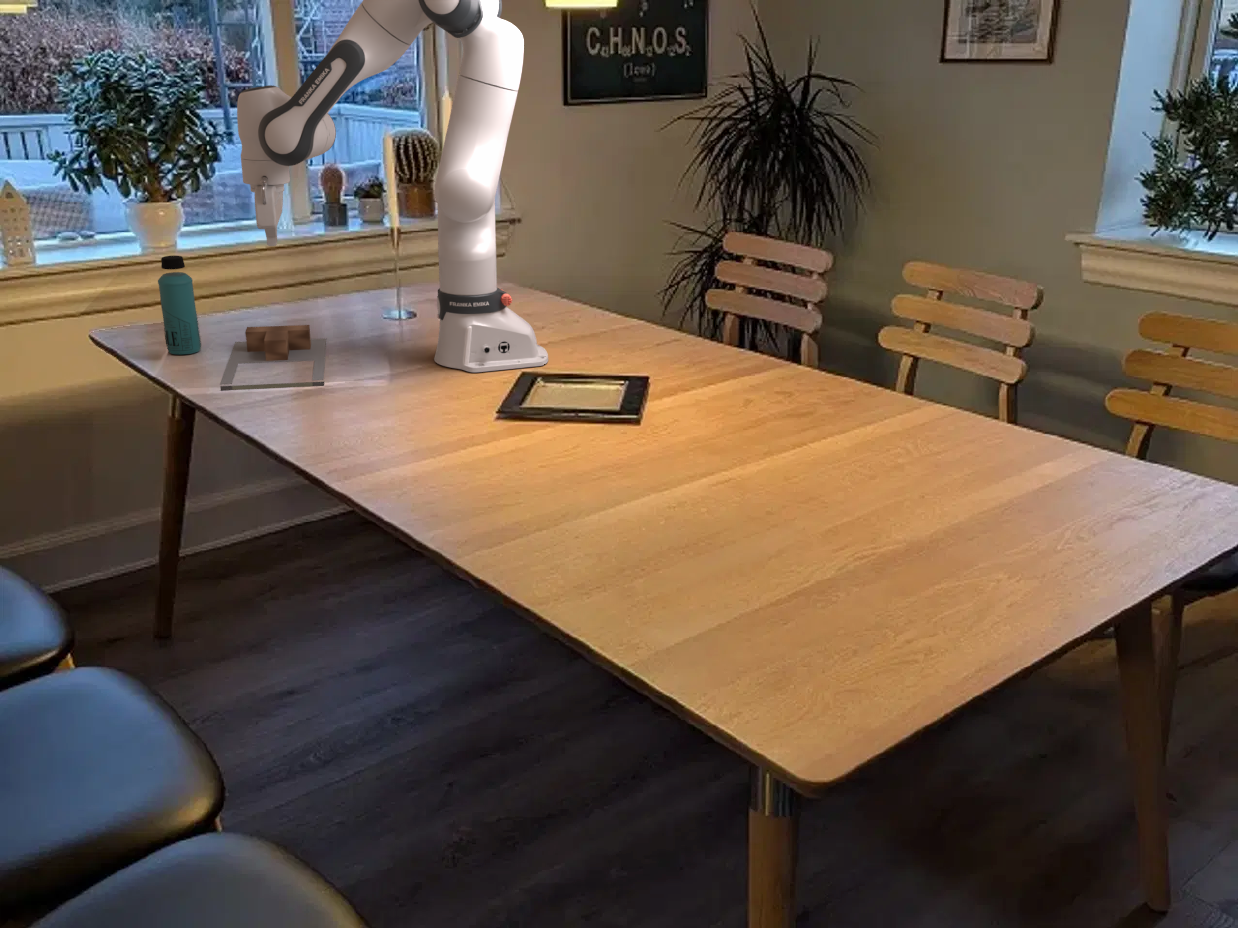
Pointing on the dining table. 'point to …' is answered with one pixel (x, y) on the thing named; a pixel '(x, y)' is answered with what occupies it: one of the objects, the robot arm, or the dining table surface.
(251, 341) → the t block
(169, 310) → the beverage bottle
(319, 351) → the board
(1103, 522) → the dining table surface
